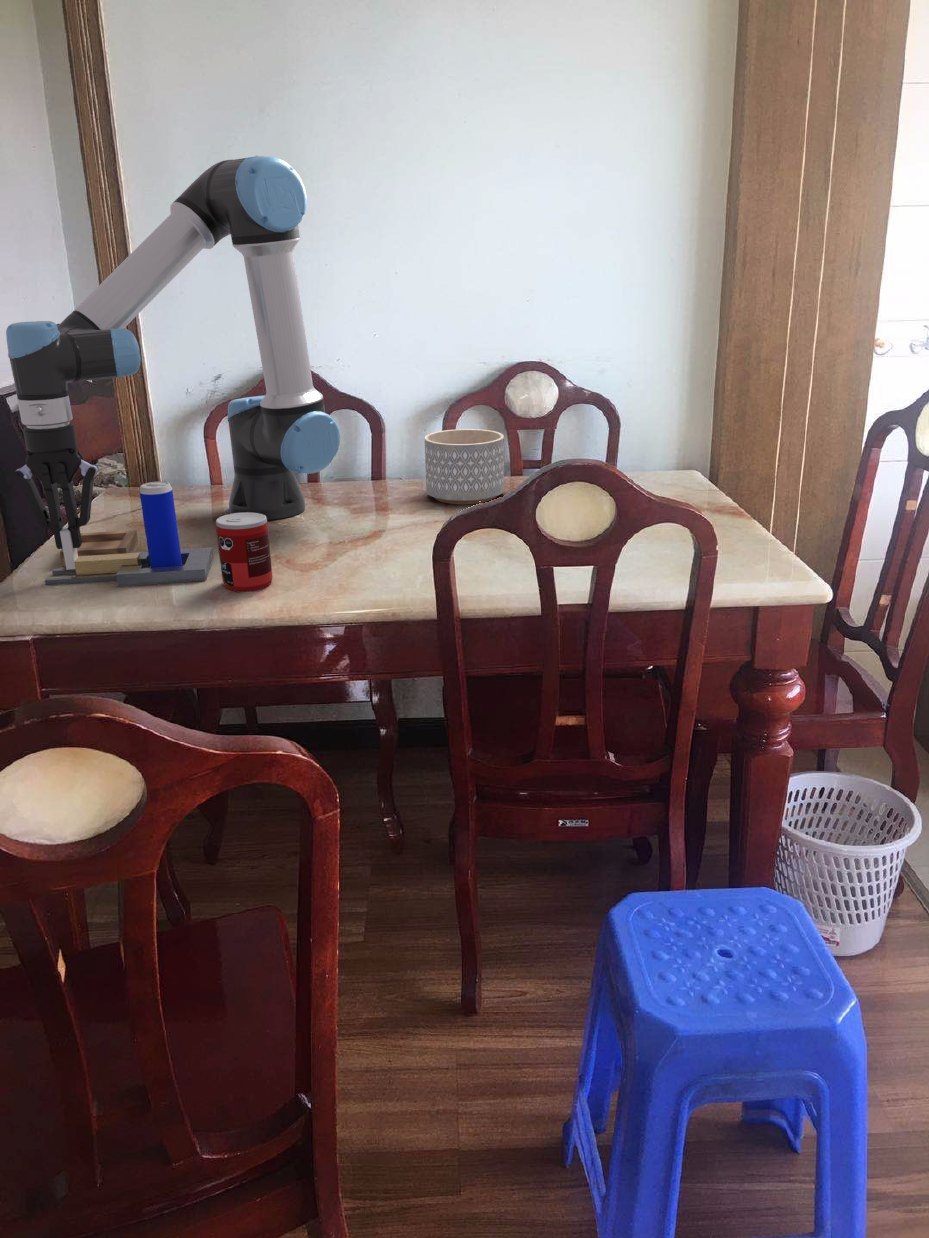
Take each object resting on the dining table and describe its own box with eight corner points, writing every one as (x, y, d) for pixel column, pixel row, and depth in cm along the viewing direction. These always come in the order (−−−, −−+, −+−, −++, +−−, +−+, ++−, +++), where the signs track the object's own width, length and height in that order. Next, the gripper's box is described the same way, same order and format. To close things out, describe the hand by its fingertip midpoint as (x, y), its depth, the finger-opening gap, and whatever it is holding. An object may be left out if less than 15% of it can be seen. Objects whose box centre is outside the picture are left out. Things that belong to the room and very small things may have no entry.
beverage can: (189, 569, 169) (178, 482, 163) (169, 578, 164) (156, 489, 159) (165, 565, 171) (153, 479, 165) (144, 574, 167) (131, 487, 161)
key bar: (142, 569, 168) (139, 552, 167) (139, 575, 166) (136, 558, 165) (81, 573, 167) (78, 556, 166) (77, 579, 165) (74, 561, 163)
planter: (457, 483, 221) (455, 426, 216) (519, 493, 212) (519, 433, 207) (410, 499, 209) (408, 439, 204) (474, 510, 200) (473, 447, 195)
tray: (138, 544, 183) (136, 530, 182) (128, 562, 173) (125, 547, 172) (76, 547, 182) (74, 533, 181) (62, 566, 171) (59, 551, 170)
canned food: (226, 577, 164) (219, 513, 160) (275, 575, 165) (269, 511, 161) (219, 593, 157) (211, 526, 153) (270, 591, 158) (264, 524, 154)
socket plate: (213, 558, 174) (211, 547, 173) (205, 580, 163) (204, 569, 162) (58, 567, 171) (56, 556, 170) (40, 591, 160) (38, 579, 159)
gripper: (-3, 430, 152) (25, 576, 161) (85, 426, 154) (109, 571, 163) (11, 422, 159) (38, 562, 168) (95, 418, 161) (117, 557, 169)
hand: (73, 566), depth 165 cm, fingers closed
